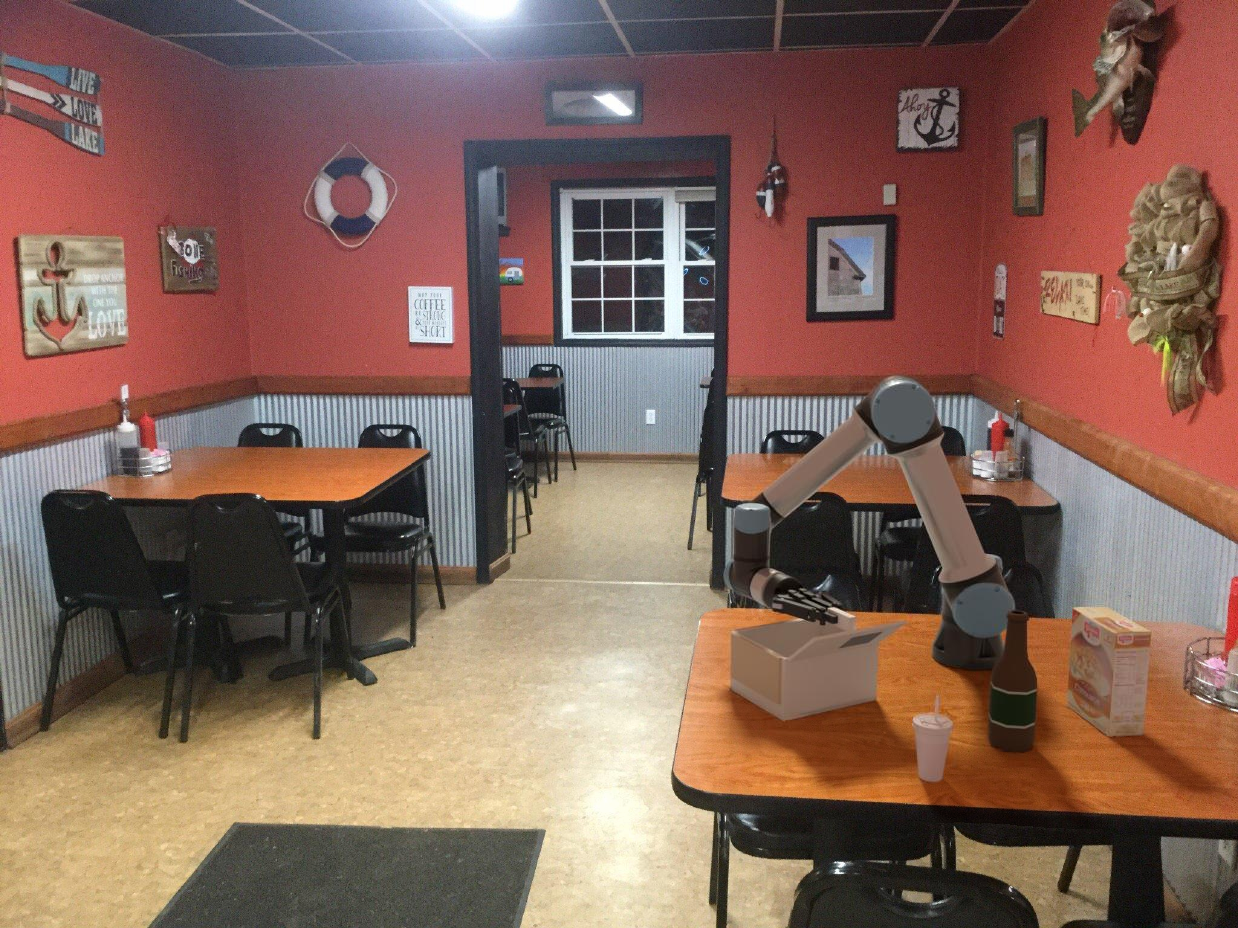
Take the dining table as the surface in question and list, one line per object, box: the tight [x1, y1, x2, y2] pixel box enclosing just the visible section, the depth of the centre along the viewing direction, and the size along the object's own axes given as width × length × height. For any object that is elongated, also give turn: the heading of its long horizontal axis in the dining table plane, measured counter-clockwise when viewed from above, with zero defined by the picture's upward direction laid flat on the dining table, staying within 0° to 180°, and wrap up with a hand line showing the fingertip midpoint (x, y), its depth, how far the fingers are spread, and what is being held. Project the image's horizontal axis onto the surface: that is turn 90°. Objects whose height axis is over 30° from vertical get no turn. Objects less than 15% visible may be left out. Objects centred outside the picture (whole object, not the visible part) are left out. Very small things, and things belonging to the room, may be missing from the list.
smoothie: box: [911, 694, 954, 783], centre depth 174 cm, size 6×6×14 cm
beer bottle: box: [987, 609, 1038, 754], centre depth 185 cm, size 8×8×24 cm
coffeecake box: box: [1065, 606, 1152, 738], centre depth 196 cm, size 15×7×20 cm, turn 5°
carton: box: [729, 618, 879, 722], centre depth 210 cm, size 19×23×12 cm
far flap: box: [787, 619, 907, 662], centre depth 197 cm, size 10×21×1 cm
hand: (852, 624), depth 194 cm, fingers closed
